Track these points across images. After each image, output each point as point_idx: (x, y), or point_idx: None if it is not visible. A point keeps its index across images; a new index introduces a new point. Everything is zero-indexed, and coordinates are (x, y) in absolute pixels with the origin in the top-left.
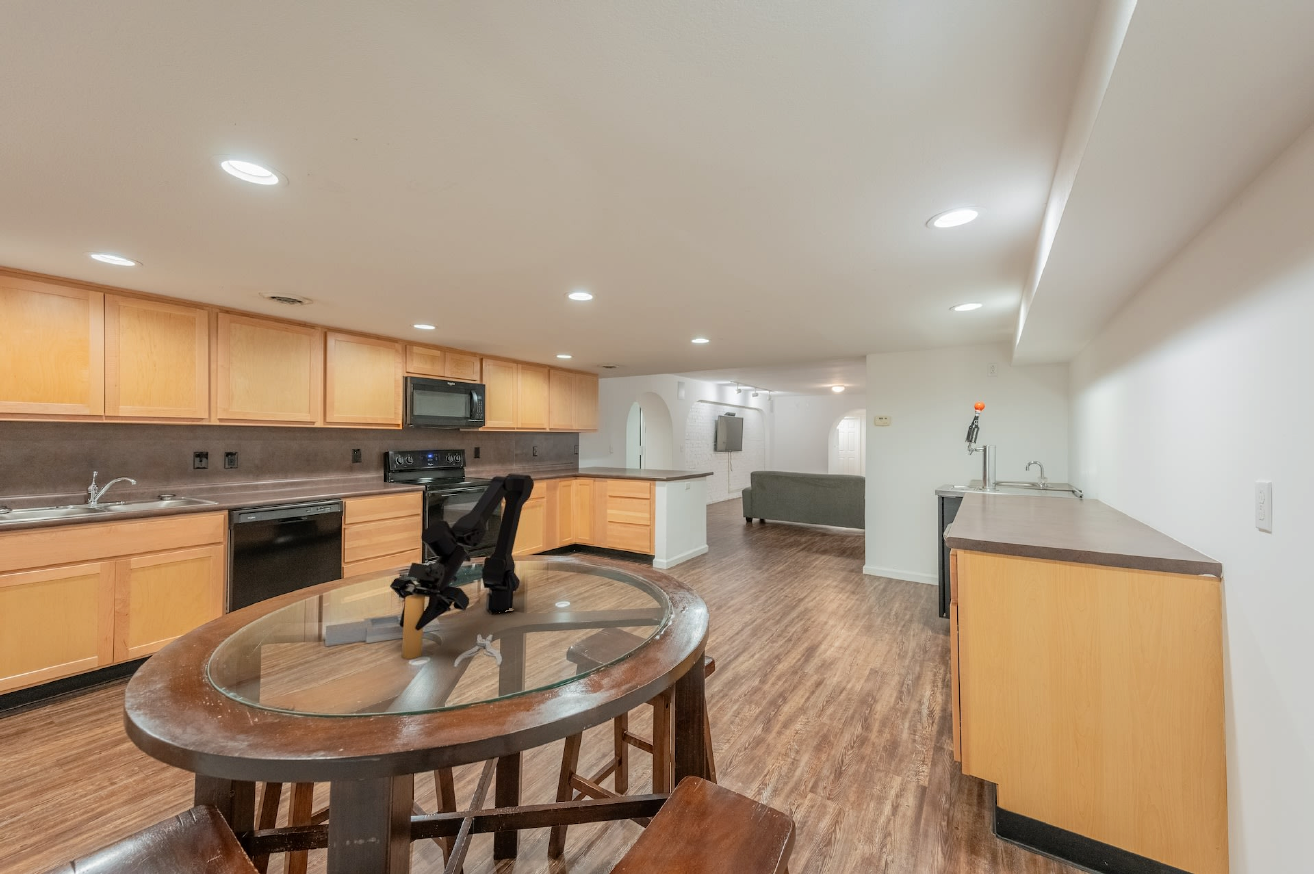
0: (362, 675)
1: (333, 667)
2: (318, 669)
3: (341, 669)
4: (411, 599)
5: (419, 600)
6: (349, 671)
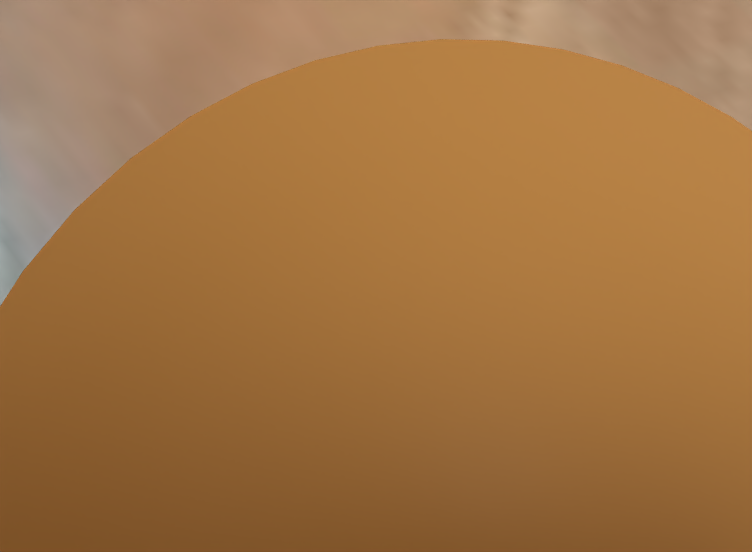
0: (403, 3)
1: (687, 62)
2: (744, 13)
3: (614, 49)
4: (475, 169)
5: (25, 310)
6: (539, 35)
